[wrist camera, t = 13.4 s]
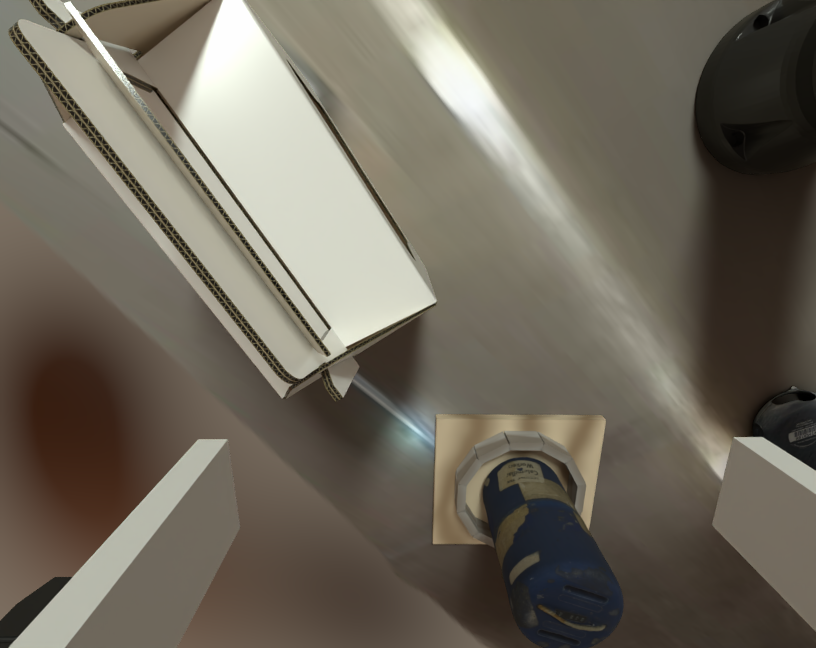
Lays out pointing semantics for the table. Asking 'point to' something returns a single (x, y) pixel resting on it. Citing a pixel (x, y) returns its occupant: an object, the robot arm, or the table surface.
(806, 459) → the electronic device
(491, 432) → the ring holder board
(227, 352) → the table surface
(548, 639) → the canister
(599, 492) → the table surface
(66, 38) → the gable box
